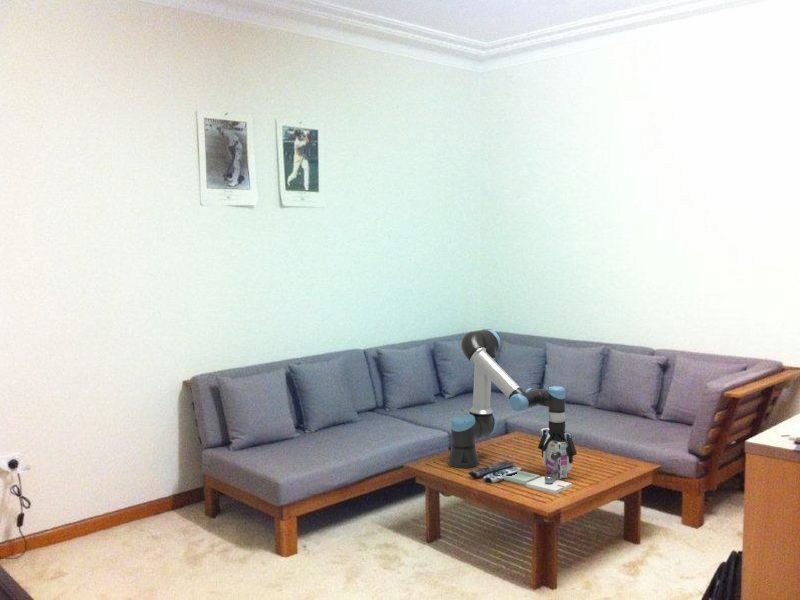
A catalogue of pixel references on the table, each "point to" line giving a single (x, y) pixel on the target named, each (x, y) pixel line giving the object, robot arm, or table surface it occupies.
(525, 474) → the tray
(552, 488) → the crank base
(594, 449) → the table surface
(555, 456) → the crank
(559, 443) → the candy bar box
